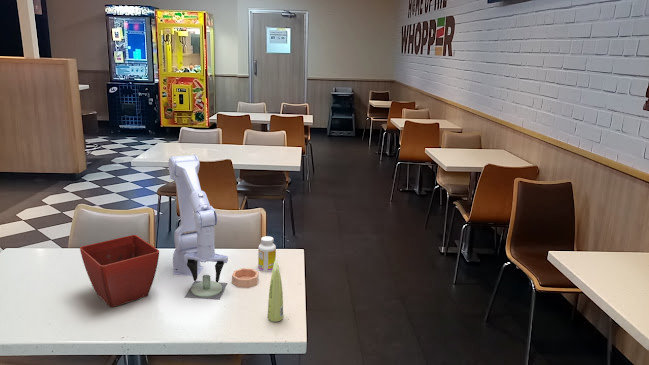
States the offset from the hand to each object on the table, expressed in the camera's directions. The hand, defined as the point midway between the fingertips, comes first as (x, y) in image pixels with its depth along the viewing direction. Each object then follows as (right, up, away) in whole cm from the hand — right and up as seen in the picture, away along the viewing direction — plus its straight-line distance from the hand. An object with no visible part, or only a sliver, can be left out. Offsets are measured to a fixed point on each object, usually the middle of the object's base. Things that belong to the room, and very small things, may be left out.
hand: (206, 280), depth 170 cm
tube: (+25, -10, -13) cm, 30 cm away
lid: (0, -4, +1) cm, 4 cm away
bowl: (+12, -3, +9) cm, 15 cm away
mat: (0, -4, +1) cm, 4 cm away
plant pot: (-27, -4, -4) cm, 28 cm away
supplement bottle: (+18, 0, +20) cm, 27 cm away
